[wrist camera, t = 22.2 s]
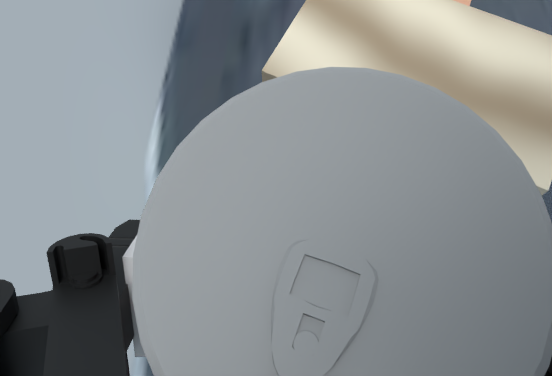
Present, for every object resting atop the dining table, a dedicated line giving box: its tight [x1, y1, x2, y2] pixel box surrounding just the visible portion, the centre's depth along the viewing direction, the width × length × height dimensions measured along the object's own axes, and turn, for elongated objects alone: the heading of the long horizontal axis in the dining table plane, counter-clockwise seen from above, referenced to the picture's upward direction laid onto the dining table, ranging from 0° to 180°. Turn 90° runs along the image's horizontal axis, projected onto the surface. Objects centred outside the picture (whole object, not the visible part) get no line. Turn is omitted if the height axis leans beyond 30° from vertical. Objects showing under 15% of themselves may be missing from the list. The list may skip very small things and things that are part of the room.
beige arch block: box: [262, 0, 552, 195], centre depth 29 cm, size 8×13×14 cm, turn 63°
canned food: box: [132, 67, 552, 376], centre depth 14 cm, size 8×8×11 cm
